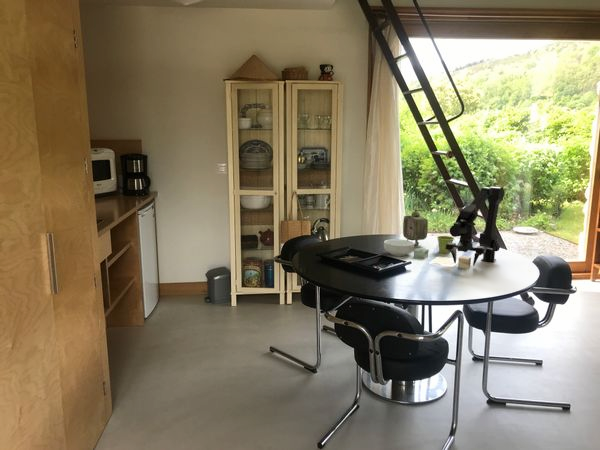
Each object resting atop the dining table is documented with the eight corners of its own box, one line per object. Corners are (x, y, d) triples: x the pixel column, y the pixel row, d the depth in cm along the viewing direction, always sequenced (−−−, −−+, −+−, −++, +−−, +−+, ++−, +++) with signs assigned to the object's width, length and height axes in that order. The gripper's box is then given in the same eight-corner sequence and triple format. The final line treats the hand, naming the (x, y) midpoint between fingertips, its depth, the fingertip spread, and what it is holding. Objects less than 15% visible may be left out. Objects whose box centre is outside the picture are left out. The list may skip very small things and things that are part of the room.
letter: (437, 256, 266) (437, 256, 266) (461, 259, 259) (461, 259, 259) (427, 263, 251) (427, 263, 251) (453, 267, 244) (453, 267, 244)
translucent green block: (417, 255, 269) (417, 248, 269) (428, 256, 266) (428, 249, 265) (413, 257, 264) (413, 250, 264) (424, 259, 261) (424, 251, 260)
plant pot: (456, 253, 273) (457, 238, 272) (443, 254, 270) (444, 239, 268) (446, 249, 282) (447, 235, 280) (432, 251, 278) (433, 236, 277)
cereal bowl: (405, 259, 259) (406, 246, 258) (378, 255, 269) (378, 242, 268) (418, 253, 272) (419, 241, 271) (391, 249, 282) (392, 237, 281)
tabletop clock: (402, 242, 300) (404, 202, 296) (415, 241, 303) (417, 202, 299) (414, 247, 287) (416, 206, 282) (427, 246, 290) (429, 205, 285)
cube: (460, 265, 249) (460, 255, 248) (470, 266, 246) (471, 257, 245) (457, 267, 244) (458, 258, 244) (468, 269, 242) (468, 259, 241)
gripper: (443, 235, 240) (441, 265, 243) (482, 239, 231) (480, 271, 233) (449, 231, 250) (447, 260, 252) (487, 235, 240) (484, 265, 243)
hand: (464, 264), depth 245 cm, fingers open, 9 cm apart
